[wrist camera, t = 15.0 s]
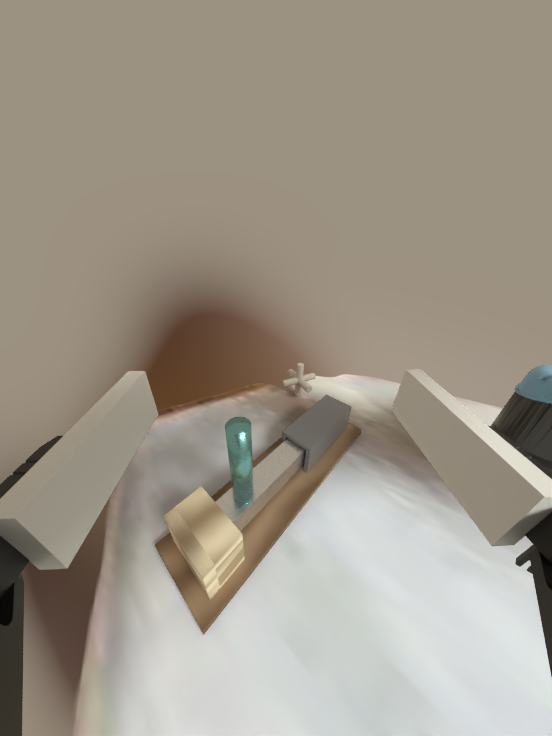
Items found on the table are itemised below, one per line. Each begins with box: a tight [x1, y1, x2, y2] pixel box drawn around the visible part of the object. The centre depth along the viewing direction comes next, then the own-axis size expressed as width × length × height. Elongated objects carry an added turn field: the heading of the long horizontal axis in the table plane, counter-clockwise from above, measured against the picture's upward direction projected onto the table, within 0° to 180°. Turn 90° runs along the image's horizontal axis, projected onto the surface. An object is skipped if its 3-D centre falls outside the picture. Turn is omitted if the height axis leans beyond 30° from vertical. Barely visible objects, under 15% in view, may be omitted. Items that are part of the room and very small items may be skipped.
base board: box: [155, 423, 361, 634], centre depth 42 cm, size 12×42×1 cm, turn 138°
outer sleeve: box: [282, 395, 352, 473], centre depth 48 cm, size 6×16×6 cm, turn 138°
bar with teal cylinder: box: [215, 417, 306, 532], centre depth 34 cm, size 4×24×18 cm, turn 138°
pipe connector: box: [282, 363, 315, 396], centre depth 63 cm, size 10×10×10 cm
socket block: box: [164, 486, 245, 600], centre depth 30 cm, size 9×6×7 cm, turn 48°
